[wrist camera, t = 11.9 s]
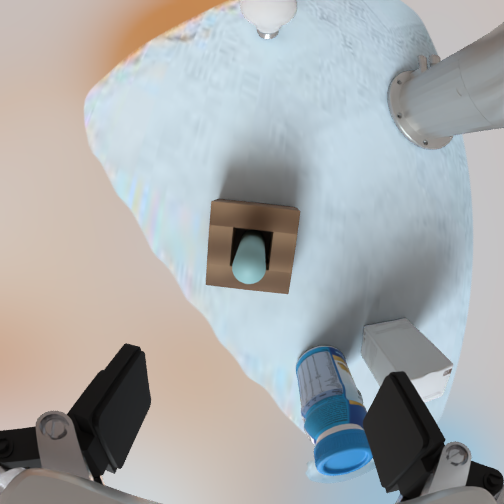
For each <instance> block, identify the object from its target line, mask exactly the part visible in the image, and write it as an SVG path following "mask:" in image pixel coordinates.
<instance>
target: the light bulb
mask: <svg viewBox="0 0 504 504" xmlns="http://www.w3.org/2000/svg"><path fill="white" fill-rule="evenodd" d="M240 9H241V12H242V14H243V16H244V17H245V18H246V20H247V21H248V22H250V23H251V24H253V25H255V26H256V28H257V32H258V34H259V36H260V37H261V38H264V39H272V38H275V37H276V36H277V35H278V33H279V29H280V27H281V26H283V25H286V24H287V23H289V22H290V21H291V20H292V19H293V18H294V16H295V14H296V11H297V2H296V0H241V1H240Z"/></svg>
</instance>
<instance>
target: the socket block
mask: <svg viewBox="0 0 504 504" xmlns="http://www.w3.org/2000/svg"><path fill="white" fill-rule="evenodd" d="M299 217H300V210H298V209H297V208H296V207H290V206H282V205H273V204H264V203H255V202H246V201H236V200H225V199H217V200H214V201H212V202H211V214H210V226H209V240H208V255H207V272H206V285H212V286H220V287H228V288H236V289H245V290H254V291H263V292H273V293H283V294H288V293H289V286H290V280H291V274H292V267H293V261H294V254H295V247H296V240H297V232H298V225H299ZM251 229H254V230H258V231H260V232H261V233H262V234H263V236H264V242H265V263H266V271H265V274H264V276H263V278H262V279H261V280H260V281H258V282H256V283H254V284H245V283H242V282H240V281H239V280H237V279H236V277H235V276H234V274H233V271H232V264H233V261H234V258H235V256H236V253H237V250H238V247H239V244H240V242H241V239H242V236H243V234H244V233H245V232H246V231H248V230H251Z"/></svg>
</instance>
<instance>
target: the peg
mask: <svg viewBox="0 0 504 504" xmlns="http://www.w3.org/2000/svg"><path fill="white" fill-rule="evenodd" d="M232 271H233V274H234V276H235V277H236V279H237V280H239V281H240V282H242V283H245V284H254V283H256V282H258V281H260V280H261V279H262V278H263V276H264V274H265V271H266V263H265V242H264V236H263V234H262V233H261V232H260V231H258V230H254V229H251V230H248V231H246V232H245V233H244V234H243V236H242V239H241V242H240V244H239V247H238V250H237V253H236V256H235V258H234V261H233V264H232Z"/></svg>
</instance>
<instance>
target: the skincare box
mask: <svg viewBox="0 0 504 504" xmlns="http://www.w3.org/2000/svg"><path fill="white" fill-rule="evenodd" d="M361 356H362V358H363V359H364V361H365V363H366V364H367V366H368V368H369V369H370V371H371V372H372V374H373V376H374V377H375V379H376V381H377V382H378V384H379V386H380V387H381V385H382V383H383V381H384V379H385V377H386V376H388V375H389V373H391V372H398V371H404V372H405V373H406V374H407V376H408V377H409V379H410V380H411V382H412V384H413V385H414V387H415V388H416V390H417V392H418V393H419V395H420V397H421V398H422V400H423V402H424V403H425V402H428V401H431V400H433V399H436V398H438V397H441V396H443V393H444V391H445V388H446V385H447V382H448V379H449V377H450V374H451V370H452V367H453V363H452V362H451V361H450V360H449V359H448V358H447V357H446V356H445V355H444V354H443V353H442V352H441V351H440V350H439V349H438V348H437V347H436V346H435V345H434V344H433V343H432V342H431V341H429V340H428V339H427V338H426V337H425V336H424V335H423V334H422V333H421V332H420V331H419V330H418V329H417V328H416V327H415V326H414V325H413V324H412V323H411V322H409V321H408V320H407V319H406V318H403V319H398V320H393V321H388V322H383V323H377V324H373V325H366V326H364V331H363V341H362V348H361Z"/></svg>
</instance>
